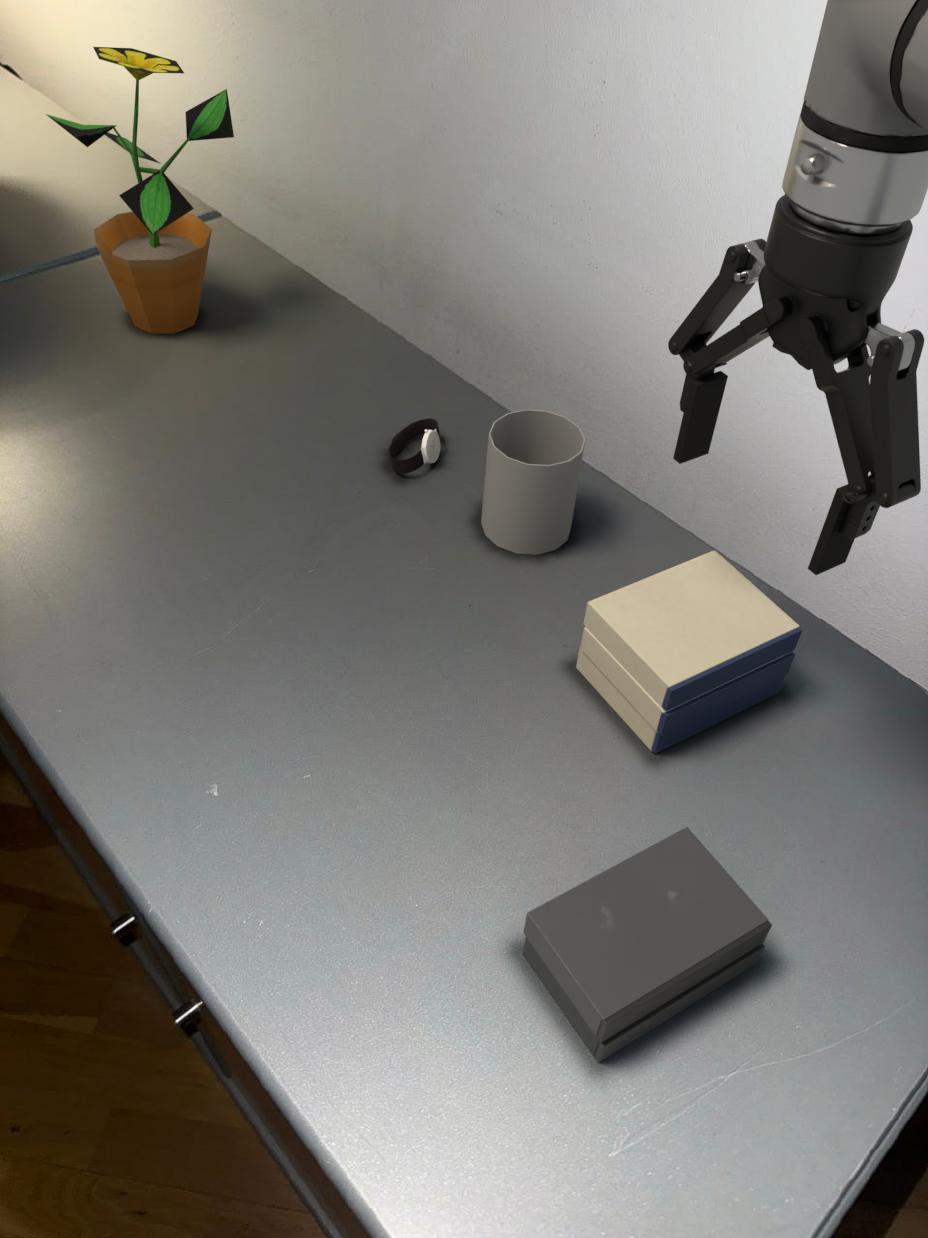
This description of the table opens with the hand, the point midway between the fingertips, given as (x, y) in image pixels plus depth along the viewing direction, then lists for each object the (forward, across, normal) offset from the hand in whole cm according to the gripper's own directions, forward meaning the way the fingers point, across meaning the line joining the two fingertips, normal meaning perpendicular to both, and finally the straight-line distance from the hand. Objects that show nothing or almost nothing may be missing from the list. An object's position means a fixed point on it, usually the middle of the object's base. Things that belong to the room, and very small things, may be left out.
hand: (754, 508), depth 75 cm
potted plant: (+18, -74, -16) cm, 78 cm away
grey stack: (+19, +16, -19) cm, 31 cm away
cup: (+19, -24, -1) cm, 31 cm away
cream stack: (+19, -2, -1) cm, 19 cm away
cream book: (+14, -2, -1) cm, 14 cm away
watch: (+19, -38, -4) cm, 43 cm away
